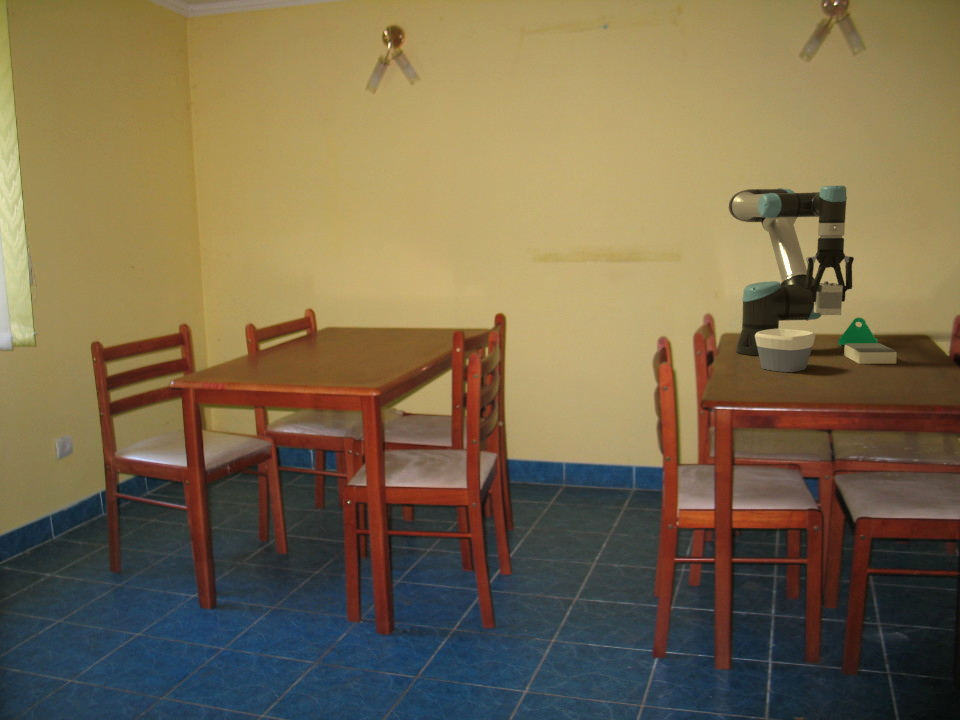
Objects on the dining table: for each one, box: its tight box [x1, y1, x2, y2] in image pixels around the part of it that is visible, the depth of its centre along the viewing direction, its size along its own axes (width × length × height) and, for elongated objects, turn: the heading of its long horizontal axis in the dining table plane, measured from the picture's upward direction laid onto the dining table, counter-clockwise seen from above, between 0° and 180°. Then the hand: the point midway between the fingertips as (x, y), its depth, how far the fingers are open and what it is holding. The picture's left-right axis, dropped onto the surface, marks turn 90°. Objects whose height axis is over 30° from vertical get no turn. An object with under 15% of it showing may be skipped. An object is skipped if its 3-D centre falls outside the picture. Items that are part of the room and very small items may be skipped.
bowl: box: [755, 328, 816, 373], centre depth 269 cm, size 15×15×11 cm
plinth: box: [843, 342, 897, 365], centre depth 283 cm, size 11×15×4 cm
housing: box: [817, 280, 843, 316], centre depth 276 cm, size 6×8×10 cm
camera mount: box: [837, 316, 879, 346], centre depth 307 cm, size 12×8×10 cm, turn 64°
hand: (827, 312), depth 277 cm, fingers closed on housing, 6 cm apart
